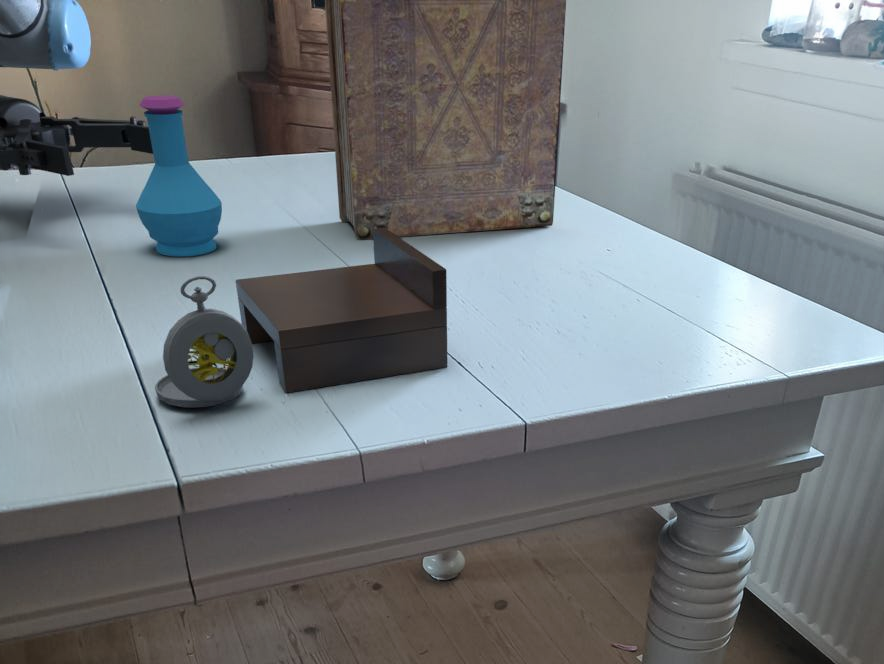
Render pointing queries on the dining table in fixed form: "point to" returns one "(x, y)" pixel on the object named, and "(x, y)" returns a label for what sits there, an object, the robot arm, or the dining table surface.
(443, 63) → the book
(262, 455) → the dining table surface
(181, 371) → the pocket watch
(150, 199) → the perfume bottle
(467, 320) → the dining table surface
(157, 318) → the dining table surface
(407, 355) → the shelf
